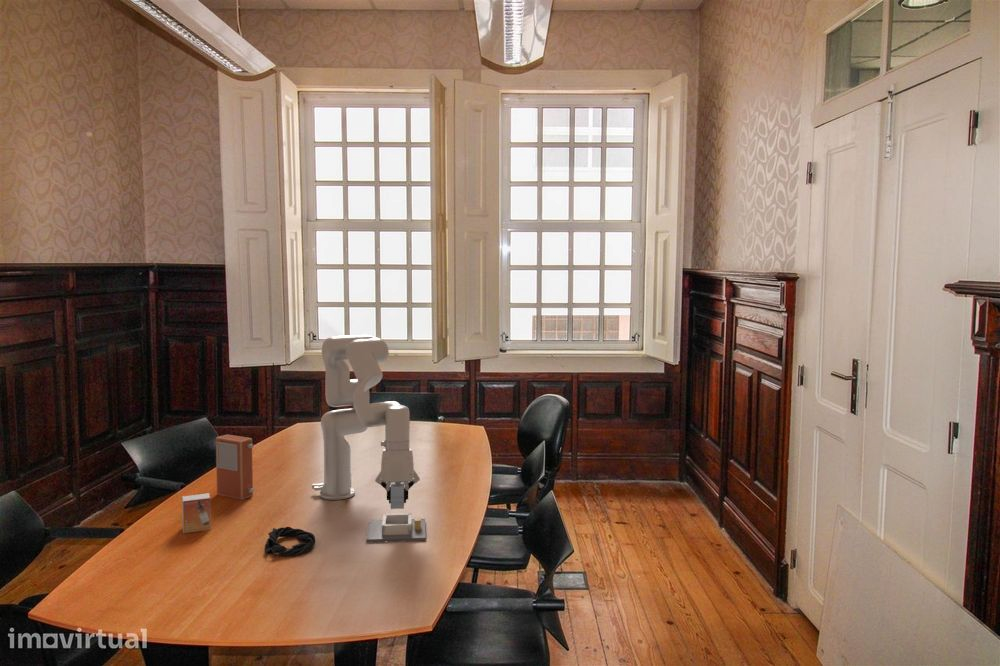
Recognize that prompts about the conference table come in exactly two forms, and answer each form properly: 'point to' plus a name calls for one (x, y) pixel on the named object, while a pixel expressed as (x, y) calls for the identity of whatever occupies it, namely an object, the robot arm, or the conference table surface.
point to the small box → (196, 513)
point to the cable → (295, 549)
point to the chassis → (397, 528)
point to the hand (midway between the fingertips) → (397, 501)
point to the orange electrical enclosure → (234, 466)
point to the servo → (397, 495)
